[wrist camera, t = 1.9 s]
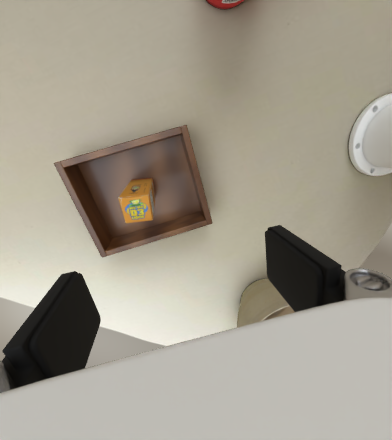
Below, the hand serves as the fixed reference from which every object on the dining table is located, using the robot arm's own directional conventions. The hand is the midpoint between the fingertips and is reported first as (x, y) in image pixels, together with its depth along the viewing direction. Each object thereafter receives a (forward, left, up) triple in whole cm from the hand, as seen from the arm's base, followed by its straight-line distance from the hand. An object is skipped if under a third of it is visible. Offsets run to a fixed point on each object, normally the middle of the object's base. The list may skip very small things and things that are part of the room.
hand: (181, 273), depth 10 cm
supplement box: (+4, -1, -23) cm, 24 cm away
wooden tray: (+4, -1, -24) cm, 24 cm away
